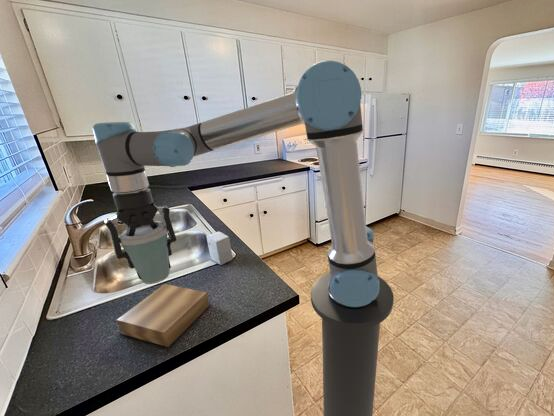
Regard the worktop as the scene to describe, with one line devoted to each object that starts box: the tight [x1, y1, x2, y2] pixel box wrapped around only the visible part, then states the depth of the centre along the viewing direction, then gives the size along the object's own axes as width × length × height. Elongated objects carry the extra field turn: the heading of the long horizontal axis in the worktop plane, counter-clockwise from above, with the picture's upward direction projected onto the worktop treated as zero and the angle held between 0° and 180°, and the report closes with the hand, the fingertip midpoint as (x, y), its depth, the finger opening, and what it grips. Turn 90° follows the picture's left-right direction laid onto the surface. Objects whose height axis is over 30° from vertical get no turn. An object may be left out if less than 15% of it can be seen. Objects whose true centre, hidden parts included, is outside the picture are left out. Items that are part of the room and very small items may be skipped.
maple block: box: [116, 283, 210, 348], centre depth 77 cm, size 16×16×5 cm
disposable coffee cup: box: [118, 220, 171, 285], centre depth 70 cm, size 11×11×15 cm
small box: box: [205, 231, 234, 266], centre depth 106 cm, size 8×6×10 cm
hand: (154, 271), depth 72 cm, fingers open, 6 cm apart
